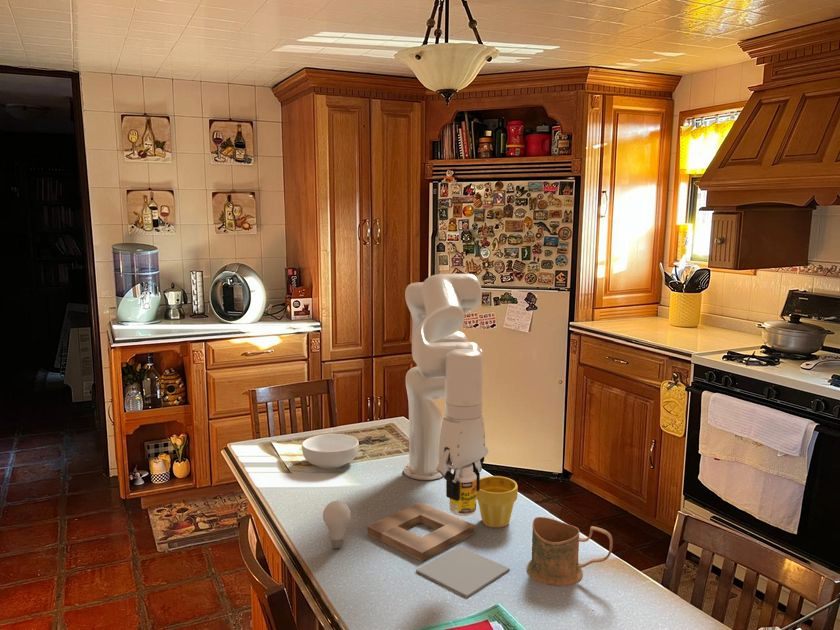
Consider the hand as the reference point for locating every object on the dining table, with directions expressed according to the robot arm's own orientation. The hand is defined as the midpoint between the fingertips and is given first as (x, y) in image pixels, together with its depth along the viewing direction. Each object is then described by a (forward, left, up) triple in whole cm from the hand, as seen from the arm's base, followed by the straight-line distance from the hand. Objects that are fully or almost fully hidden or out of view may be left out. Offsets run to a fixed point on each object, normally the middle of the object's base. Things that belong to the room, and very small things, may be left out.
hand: (463, 493), depth 140 cm
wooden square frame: (-6, -18, -17) cm, 26 cm away
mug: (-14, +17, -18) cm, 28 cm away
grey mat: (0, 0, -17) cm, 17 cm away
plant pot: (-23, -9, -18) cm, 30 cm away
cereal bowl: (-19, -68, -18) cm, 73 cm away
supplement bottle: (0, 0, -4) cm, 4 cm away
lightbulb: (+12, -27, -18) cm, 34 cm away
